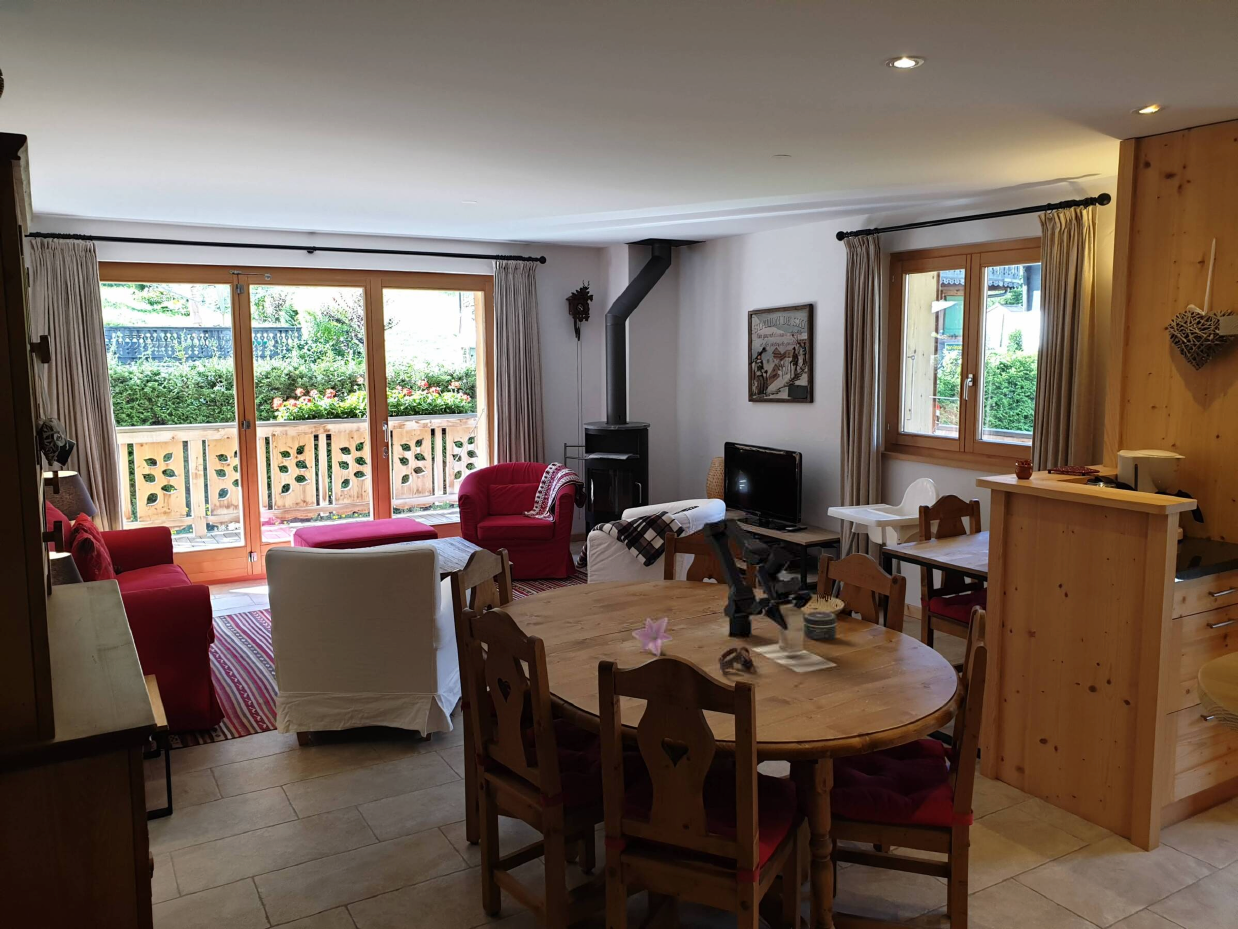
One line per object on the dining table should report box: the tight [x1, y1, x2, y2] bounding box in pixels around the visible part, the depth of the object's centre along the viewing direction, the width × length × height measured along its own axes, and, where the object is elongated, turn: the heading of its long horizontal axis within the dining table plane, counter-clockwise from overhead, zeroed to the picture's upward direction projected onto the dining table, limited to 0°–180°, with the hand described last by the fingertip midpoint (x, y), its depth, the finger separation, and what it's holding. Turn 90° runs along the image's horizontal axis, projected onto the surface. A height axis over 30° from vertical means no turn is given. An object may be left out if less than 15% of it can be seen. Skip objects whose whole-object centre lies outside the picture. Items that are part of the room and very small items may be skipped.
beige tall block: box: [778, 606, 804, 653], centre depth 263 cm, size 5×5×12 cm
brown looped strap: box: [717, 646, 756, 674], centre depth 255 cm, size 12×10×8 cm
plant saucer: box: [780, 594, 845, 620], centre depth 312 cm, size 24×24×3 cm
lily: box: [631, 617, 673, 657], centre depth 275 cm, size 12×12×10 cm
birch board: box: [750, 642, 837, 674], centre depth 264 cm, size 24×13×1 cm, turn 26°
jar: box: [803, 611, 837, 641], centre depth 282 cm, size 10×10×8 cm
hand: (793, 628), depth 262 cm, fingers closed on beige tall block, 5 cm apart
